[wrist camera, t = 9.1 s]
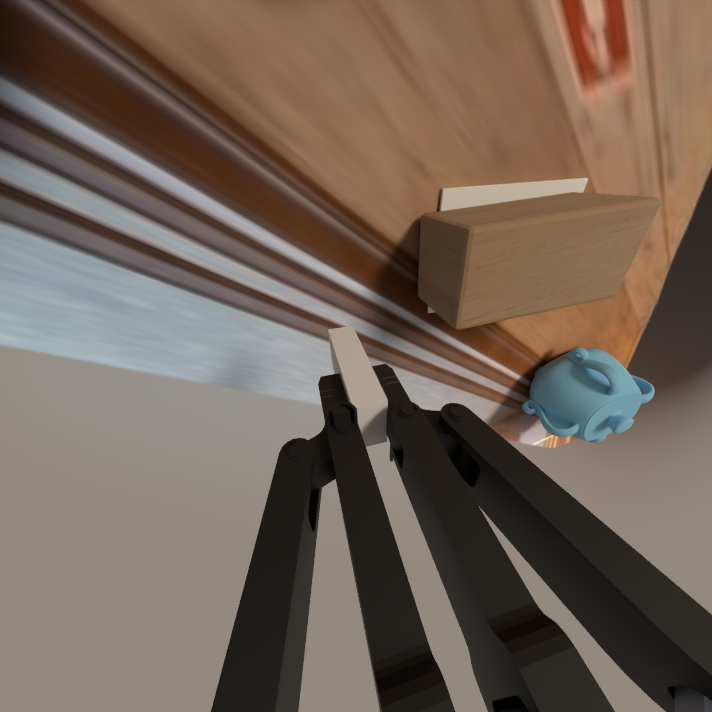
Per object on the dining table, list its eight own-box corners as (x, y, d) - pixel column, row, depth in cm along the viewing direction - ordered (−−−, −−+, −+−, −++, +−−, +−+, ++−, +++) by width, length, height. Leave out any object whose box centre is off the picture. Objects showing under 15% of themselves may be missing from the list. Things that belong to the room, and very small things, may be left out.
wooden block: (416, 296, 36) (546, 272, 39) (454, 332, 28) (616, 298, 31) (419, 213, 30) (572, 191, 33) (469, 228, 22) (667, 197, 25)
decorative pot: (606, 356, 54) (689, 403, 43) (545, 412, 60) (604, 465, 49) (567, 328, 47) (654, 374, 36) (502, 394, 53) (560, 451, 42)
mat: (441, 188, 30) (443, 188, 29) (585, 177, 33) (588, 178, 32) (427, 312, 38) (428, 313, 38) (542, 294, 41) (544, 295, 41)
